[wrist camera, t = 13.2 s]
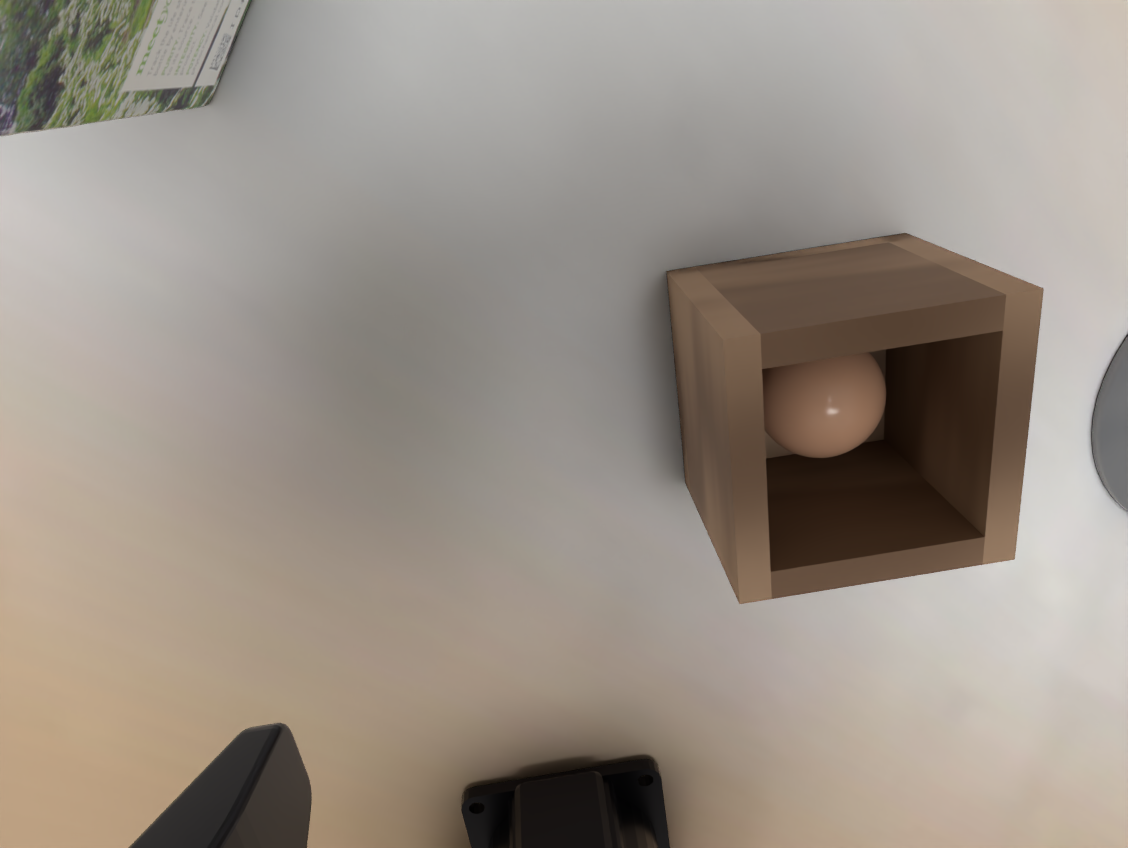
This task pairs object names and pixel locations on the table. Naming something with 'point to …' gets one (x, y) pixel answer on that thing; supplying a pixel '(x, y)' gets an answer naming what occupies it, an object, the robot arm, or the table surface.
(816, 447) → the terracotta ball
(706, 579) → the table surface
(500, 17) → the table surface
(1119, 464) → the coaster
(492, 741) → the table surface
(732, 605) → the table surface
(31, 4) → the syrup box
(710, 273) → the walnut box
